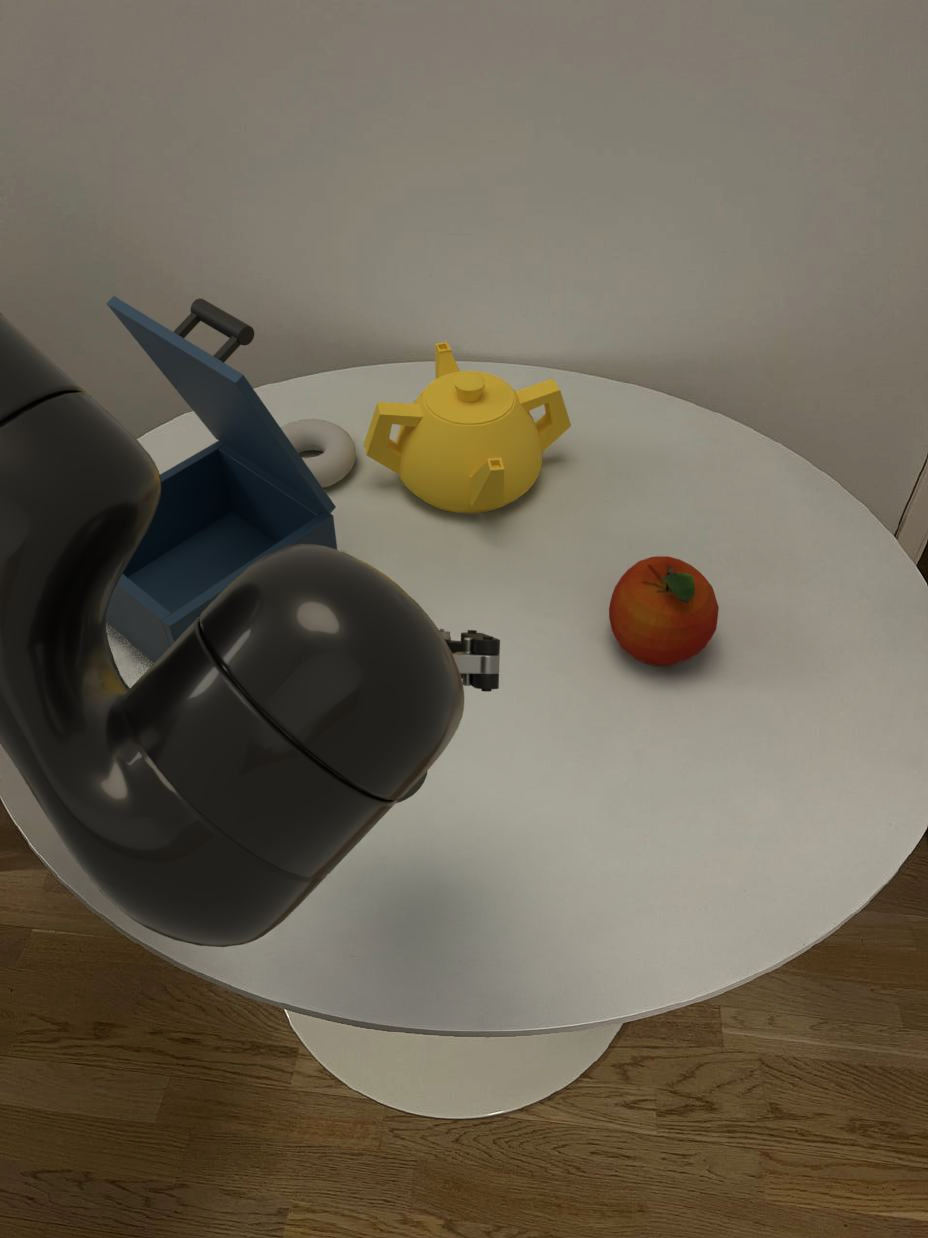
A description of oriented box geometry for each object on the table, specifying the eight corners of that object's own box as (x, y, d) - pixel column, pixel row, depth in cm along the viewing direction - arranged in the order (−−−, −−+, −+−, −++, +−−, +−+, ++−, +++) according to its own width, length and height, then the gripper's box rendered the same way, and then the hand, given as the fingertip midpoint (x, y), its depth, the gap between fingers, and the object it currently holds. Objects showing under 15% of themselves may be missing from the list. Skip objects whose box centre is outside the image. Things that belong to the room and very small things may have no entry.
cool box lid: (235, 383, 73) (283, 331, 74) (105, 303, 80) (151, 256, 81) (329, 514, 89) (367, 470, 90) (215, 438, 96) (252, 398, 97)
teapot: (358, 489, 106) (350, 394, 97) (442, 408, 115) (441, 315, 106) (497, 547, 100) (501, 452, 91) (572, 457, 110) (583, 363, 101)
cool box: (190, 694, 87) (169, 626, 81) (84, 604, 94) (56, 533, 88) (341, 585, 96) (333, 515, 90) (234, 509, 104) (219, 439, 97)
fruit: (686, 597, 96) (705, 519, 88) (724, 673, 90) (749, 596, 82) (590, 612, 94) (601, 534, 87) (622, 691, 88) (637, 614, 81)
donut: (291, 510, 104) (374, 474, 107) (287, 484, 101) (372, 448, 105) (248, 458, 109) (329, 426, 113) (243, 433, 107) (325, 400, 110)
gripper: (516, 591, 42) (502, 585, 59) (175, 582, 42) (258, 578, 59) (511, 767, 43) (498, 712, 60) (173, 759, 43) (256, 705, 60)
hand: (378, 645), depth 59 cm, fingers closed on bottle, 5 cm apart
